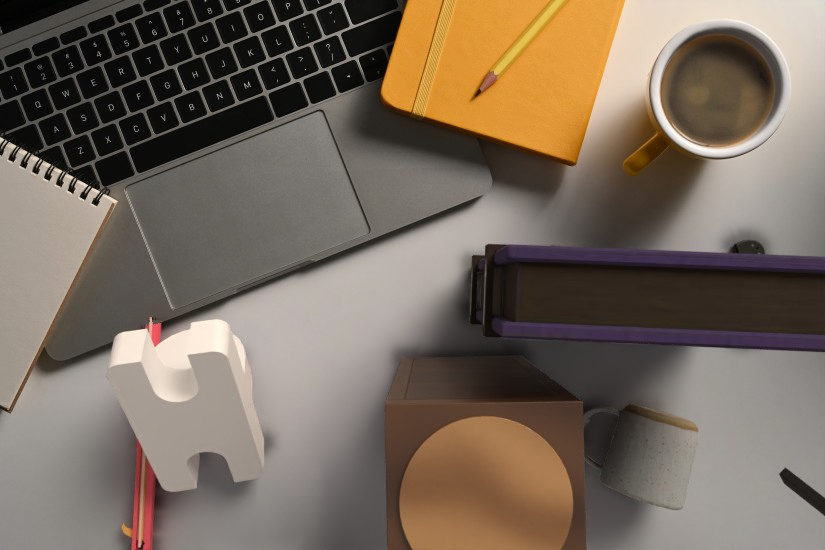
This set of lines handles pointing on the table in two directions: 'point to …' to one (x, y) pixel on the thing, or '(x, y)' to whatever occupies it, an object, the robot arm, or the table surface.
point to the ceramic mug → (648, 455)
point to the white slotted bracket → (188, 401)
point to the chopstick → (144, 483)
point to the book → (650, 297)
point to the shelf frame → (472, 379)
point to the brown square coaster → (485, 474)
